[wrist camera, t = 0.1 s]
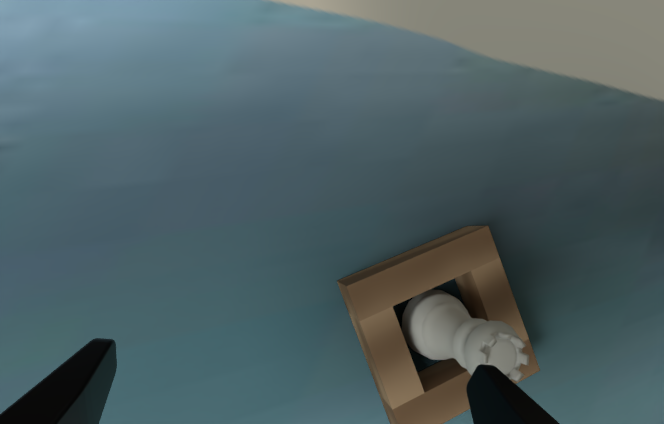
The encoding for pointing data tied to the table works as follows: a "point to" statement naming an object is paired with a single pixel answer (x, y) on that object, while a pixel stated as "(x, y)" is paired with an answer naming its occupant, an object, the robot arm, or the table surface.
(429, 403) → the brown wooden frame
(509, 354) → the rook chess piece
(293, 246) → the table surface
